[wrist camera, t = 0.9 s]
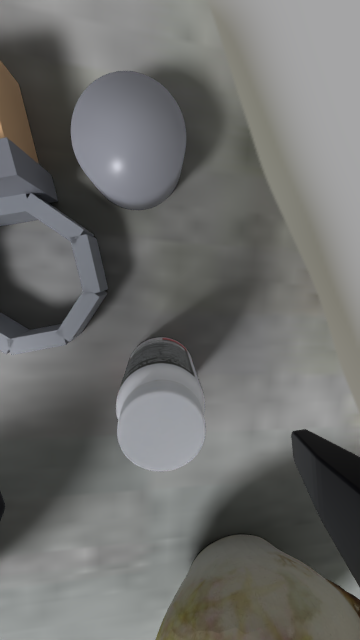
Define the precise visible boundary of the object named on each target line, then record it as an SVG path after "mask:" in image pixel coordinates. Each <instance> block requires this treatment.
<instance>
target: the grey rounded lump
mask: <svg viewBox="0 0 360 640" xmlns="http://www.w3.org/2000/svg"><path fill="white" fill-rule="evenodd" d="M71 140H72V146H73V150H74V153H75V156H76V158H77V160H78V163H79V164H80V166H81V168H82V169H83V171H84V172H85V173H86V175H87V176H88V177H89V179H90V180H91V181H92V182H93V183H94V185H95V186H96V187H97V188H98V190H99V191H100V192H101V193H102V194H103V195H104V196H105V197H106V198H107V199H108V200H109V201H111V202H112V203H114V204H115V205H118V206H120V207H122V208H125V209H130V210H145V209H149V208H152V207H155V206H157V205H158V204H160V203H162V202H163V201H164V200H166V199H167V198H168V197H169V196H170V195H171V193H172V192H173V191H174V189H175V187H176V185H177V183H178V181H179V178H180V174H181V170H182V165H183V160H184V155H185V149H186V127H185V122H184V118H183V115H182V112H181V110H180V108H179V106H178V104H177V102H176V100H175V99H174V97H173V96H172V95H171V94H170V92H169V91H168V90H167V89H166V88H165V87H164V86H163V85H162V84H160V83H159V82H157V81H156V80H155V79H153V78H151V77H149V76H147V75H144V74H141V73H138V72H133V71H117V72H113V73H109V74H106V75H104V76H102V77H100V78H98V79H97V80H95V81H94V82H93V83H91V84H90V85H89V86H88V87H87V88H86V89H85V90H84V92H83V93H82V95H81V96H80V98H79V99H78V101H77V103H76V106H75V109H74V112H73V115H72V120H71Z"/></svg>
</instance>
